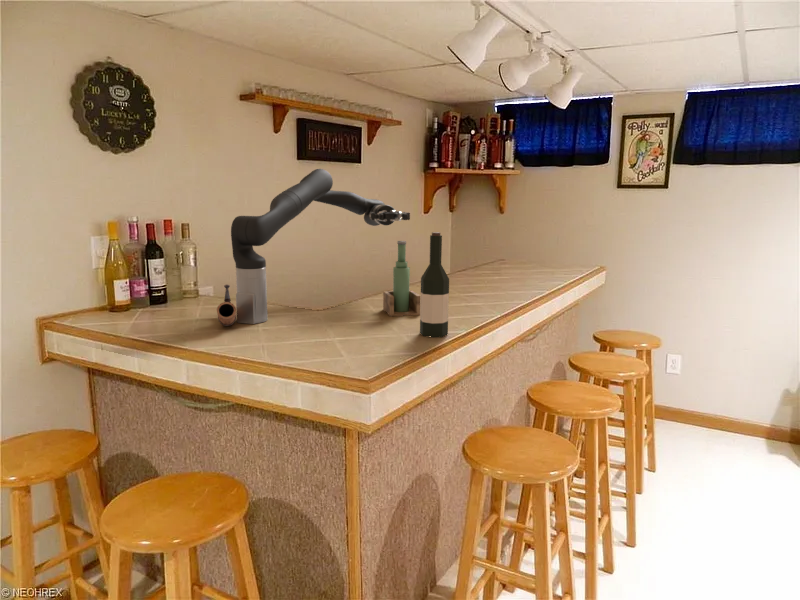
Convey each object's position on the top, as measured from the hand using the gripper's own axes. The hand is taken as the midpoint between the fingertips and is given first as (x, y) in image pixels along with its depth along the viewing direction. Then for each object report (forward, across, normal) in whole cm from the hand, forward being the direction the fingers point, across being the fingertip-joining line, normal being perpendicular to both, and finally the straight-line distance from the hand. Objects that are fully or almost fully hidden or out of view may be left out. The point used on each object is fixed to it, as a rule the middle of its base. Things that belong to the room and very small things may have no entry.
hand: (394, 217), depth 209 cm
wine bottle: (+42, +2, +32) cm, 53 cm away
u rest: (+11, 0, +32) cm, 34 cm away
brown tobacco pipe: (+15, -58, +32) cm, 68 cm away
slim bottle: (+11, 0, +31) cm, 33 cm away
